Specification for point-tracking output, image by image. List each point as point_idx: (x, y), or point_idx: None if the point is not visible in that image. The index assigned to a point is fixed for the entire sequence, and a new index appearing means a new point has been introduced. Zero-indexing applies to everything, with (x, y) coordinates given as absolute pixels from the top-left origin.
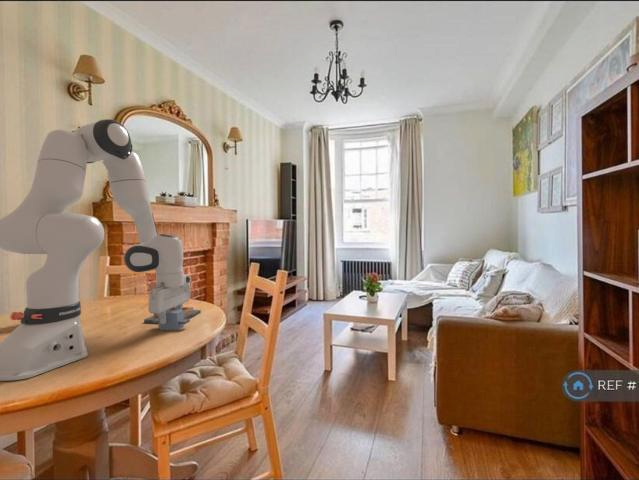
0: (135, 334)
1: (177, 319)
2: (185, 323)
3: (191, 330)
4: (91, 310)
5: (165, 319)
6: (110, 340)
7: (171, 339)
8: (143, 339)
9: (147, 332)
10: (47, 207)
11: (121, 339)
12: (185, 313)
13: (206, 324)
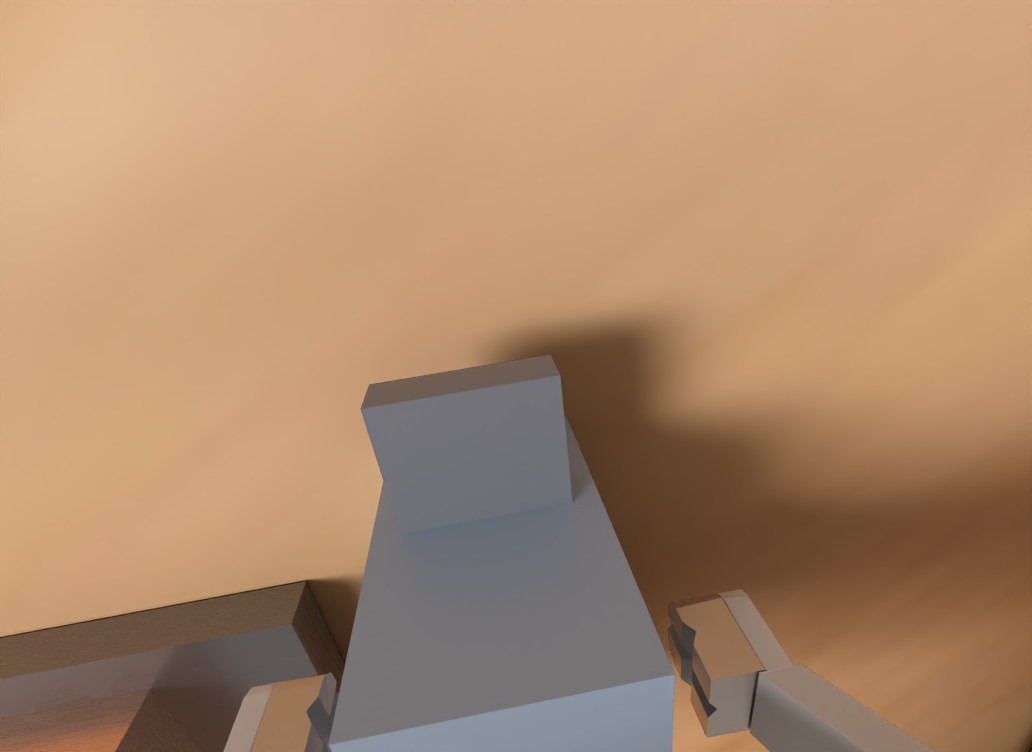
0: None
1: (609, 535)
2: (534, 362)
3: (527, 188)
4: None
5: (776, 648)
6: (917, 694)
7: (994, 195)
8: (931, 512)
9: None
10: None
11: (902, 656)
12: None
13: (51, 141)
